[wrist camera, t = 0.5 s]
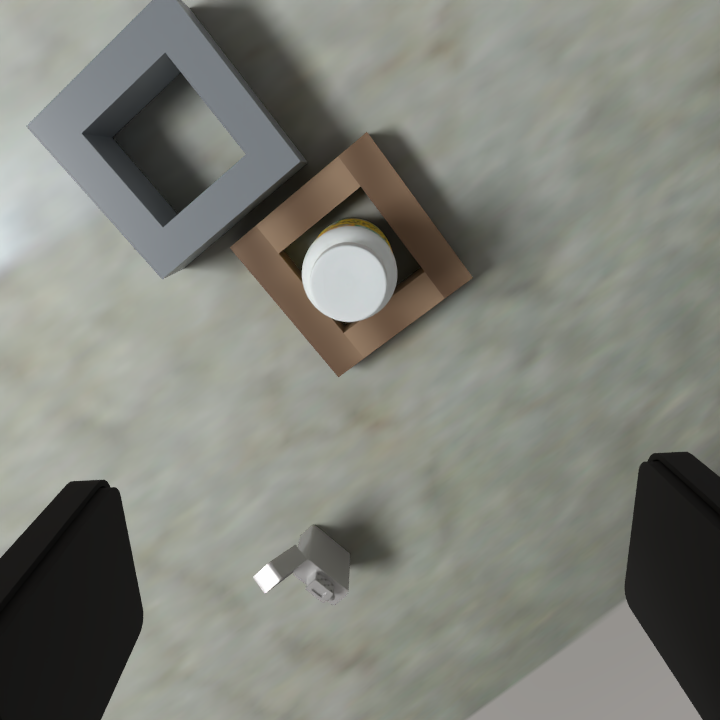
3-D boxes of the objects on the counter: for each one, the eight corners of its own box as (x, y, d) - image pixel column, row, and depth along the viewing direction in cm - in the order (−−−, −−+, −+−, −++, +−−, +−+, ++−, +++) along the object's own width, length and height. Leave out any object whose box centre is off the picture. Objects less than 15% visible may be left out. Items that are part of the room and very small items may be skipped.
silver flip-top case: (351, 555, 45) (347, 631, 38) (336, 567, 46) (330, 646, 38) (285, 500, 44) (267, 568, 36) (270, 514, 44) (249, 584, 37)
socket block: (189, 7, 34) (165, -14, 30) (307, 162, 36) (300, 161, 32) (62, 131, 36) (26, 126, 32) (183, 268, 39) (162, 279, 35)
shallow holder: (367, 134, 36) (366, 131, 34) (467, 272, 38) (472, 277, 36) (236, 243, 38) (229, 247, 36) (340, 367, 41) (338, 376, 39)
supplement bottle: (307, 290, 39) (288, 327, 30) (318, 210, 37) (300, 222, 28) (385, 303, 39) (390, 342, 30) (399, 223, 37) (408, 240, 28)
